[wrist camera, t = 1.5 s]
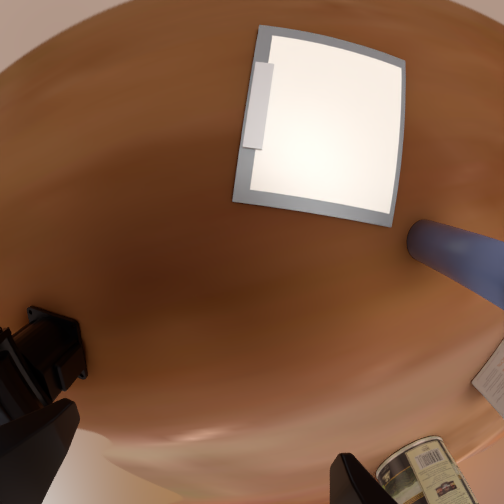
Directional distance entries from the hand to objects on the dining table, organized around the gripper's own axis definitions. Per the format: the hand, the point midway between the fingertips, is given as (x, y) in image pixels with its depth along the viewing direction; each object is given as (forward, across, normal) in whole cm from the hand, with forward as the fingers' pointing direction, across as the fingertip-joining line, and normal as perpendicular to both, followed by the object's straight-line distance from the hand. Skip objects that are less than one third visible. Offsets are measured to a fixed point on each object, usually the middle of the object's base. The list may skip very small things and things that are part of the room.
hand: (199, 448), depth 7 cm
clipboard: (+14, -4, -13) cm, 19 cm away
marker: (+14, -13, -6) cm, 20 cm away
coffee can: (+14, -26, +22) cm, 36 cm away
